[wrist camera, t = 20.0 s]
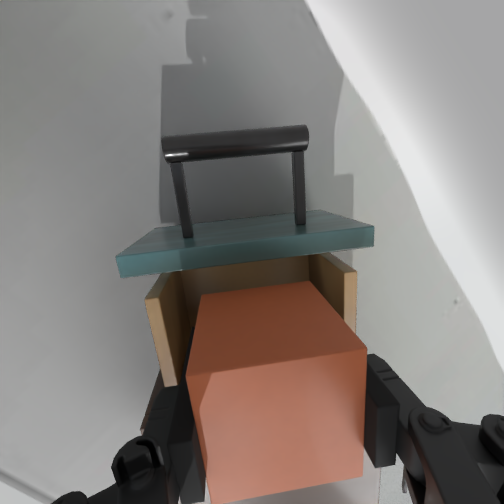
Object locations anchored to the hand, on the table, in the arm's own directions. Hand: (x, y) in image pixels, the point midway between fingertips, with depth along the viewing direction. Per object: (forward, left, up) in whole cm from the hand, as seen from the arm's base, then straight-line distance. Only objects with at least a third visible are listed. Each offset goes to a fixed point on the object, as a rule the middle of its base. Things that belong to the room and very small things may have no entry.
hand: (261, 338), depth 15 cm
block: (0, 0, 0) cm, 0 cm away
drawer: (-2, +1, -8) cm, 8 cm away
